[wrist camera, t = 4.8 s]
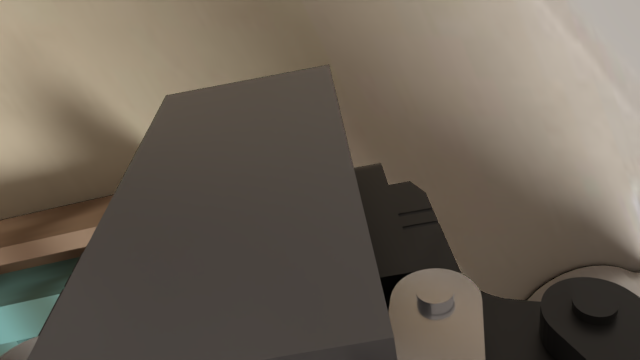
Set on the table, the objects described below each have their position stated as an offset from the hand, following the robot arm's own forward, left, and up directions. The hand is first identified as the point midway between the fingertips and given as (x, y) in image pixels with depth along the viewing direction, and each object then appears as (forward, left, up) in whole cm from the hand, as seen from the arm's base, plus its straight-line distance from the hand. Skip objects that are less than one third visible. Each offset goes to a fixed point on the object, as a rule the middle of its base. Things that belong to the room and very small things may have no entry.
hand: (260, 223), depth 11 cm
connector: (0, 0, -3) cm, 3 cm away
